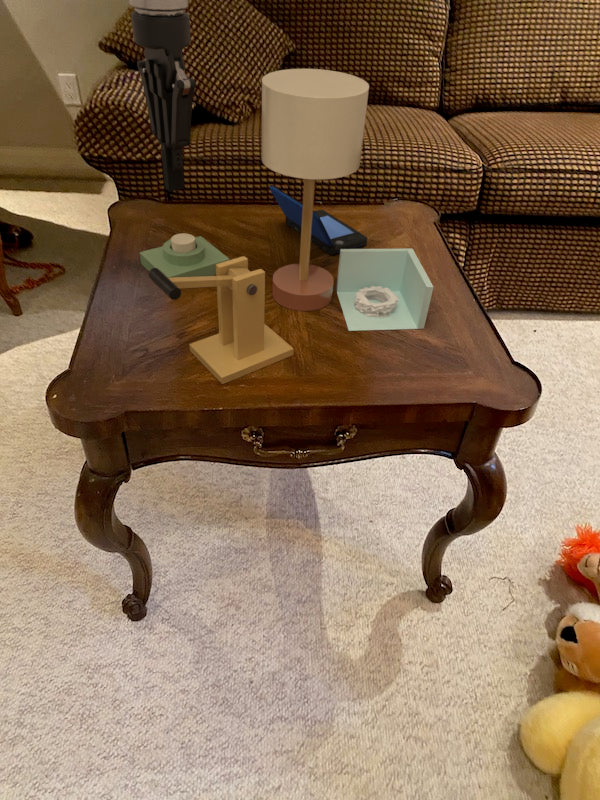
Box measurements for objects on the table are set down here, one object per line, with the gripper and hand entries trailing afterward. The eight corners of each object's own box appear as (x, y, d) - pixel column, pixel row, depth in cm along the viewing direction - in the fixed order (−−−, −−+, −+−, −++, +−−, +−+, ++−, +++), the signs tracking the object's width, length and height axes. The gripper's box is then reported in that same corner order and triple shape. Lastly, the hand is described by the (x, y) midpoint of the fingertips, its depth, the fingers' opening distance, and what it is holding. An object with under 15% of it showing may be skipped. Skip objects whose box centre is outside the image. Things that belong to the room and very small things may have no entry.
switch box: (167, 289, 97) (165, 267, 94) (140, 263, 102) (137, 242, 100) (230, 270, 102) (229, 249, 100) (201, 246, 108) (200, 226, 105)
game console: (369, 246, 112) (376, 198, 105) (313, 263, 106) (316, 214, 99) (321, 214, 121) (324, 169, 115) (266, 228, 115) (267, 181, 109)
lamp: (293, 328, 90) (305, 103, 69) (243, 287, 98) (241, 75, 77) (361, 301, 97) (391, 89, 76) (310, 265, 105) (324, 64, 84)
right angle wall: (336, 289, 99) (340, 249, 94) (404, 288, 101) (412, 248, 96) (348, 330, 90) (354, 288, 85) (423, 328, 92) (433, 287, 87)
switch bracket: (222, 384, 80) (218, 297, 70) (189, 350, 85) (181, 265, 75) (293, 355, 85) (298, 270, 76) (258, 325, 90) (259, 242, 81)
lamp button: (178, 256, 98) (177, 246, 97) (167, 246, 100) (166, 236, 99) (200, 250, 100) (199, 240, 98) (188, 240, 102) (187, 231, 101)
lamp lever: (168, 303, 69) (170, 284, 67) (147, 282, 72) (149, 264, 70) (258, 297, 77) (262, 280, 76) (236, 279, 80) (239, 262, 79)
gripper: (210, 17, 75) (216, 198, 90) (163, 1, 82) (176, 170, 98) (156, 20, 71) (172, 208, 87) (112, 2, 79) (134, 178, 94)
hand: (174, 187), depth 92 cm, fingers closed
